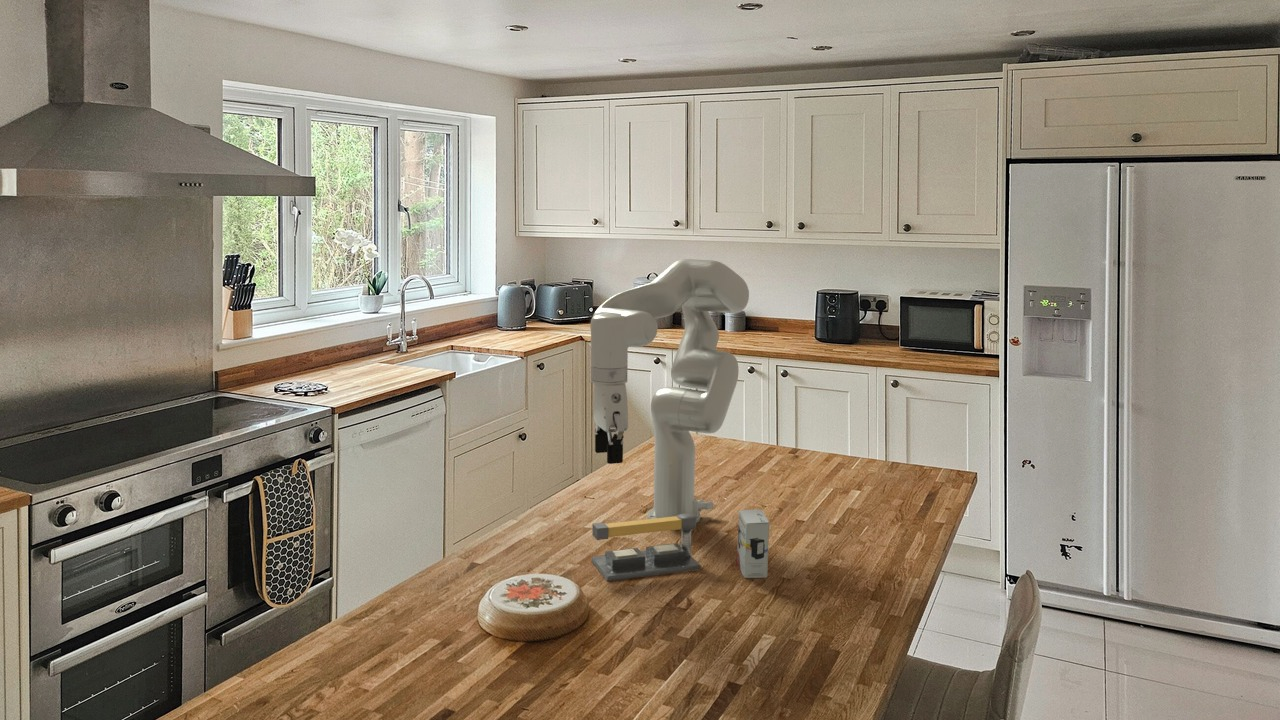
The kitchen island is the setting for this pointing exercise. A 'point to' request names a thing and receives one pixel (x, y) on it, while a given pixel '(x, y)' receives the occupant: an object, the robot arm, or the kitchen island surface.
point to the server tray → (647, 560)
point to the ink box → (753, 543)
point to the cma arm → (643, 526)
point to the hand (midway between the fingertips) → (608, 457)
